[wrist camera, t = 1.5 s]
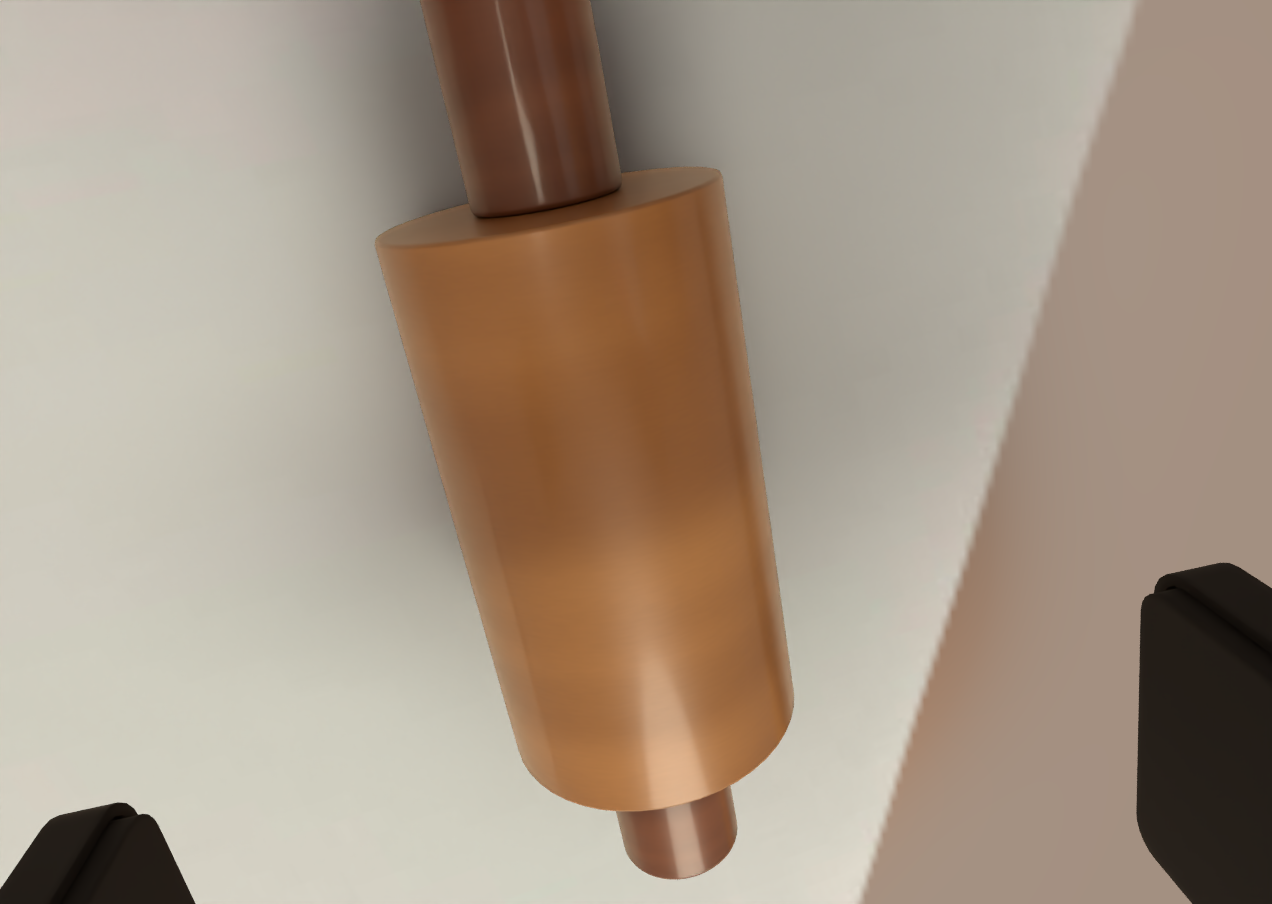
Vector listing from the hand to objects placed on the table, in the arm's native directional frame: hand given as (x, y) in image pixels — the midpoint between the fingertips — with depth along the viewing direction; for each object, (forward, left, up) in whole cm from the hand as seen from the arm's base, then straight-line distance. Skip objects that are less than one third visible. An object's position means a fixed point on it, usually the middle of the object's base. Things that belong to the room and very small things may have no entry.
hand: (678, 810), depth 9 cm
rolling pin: (0, 0, -7) cm, 7 cm away
